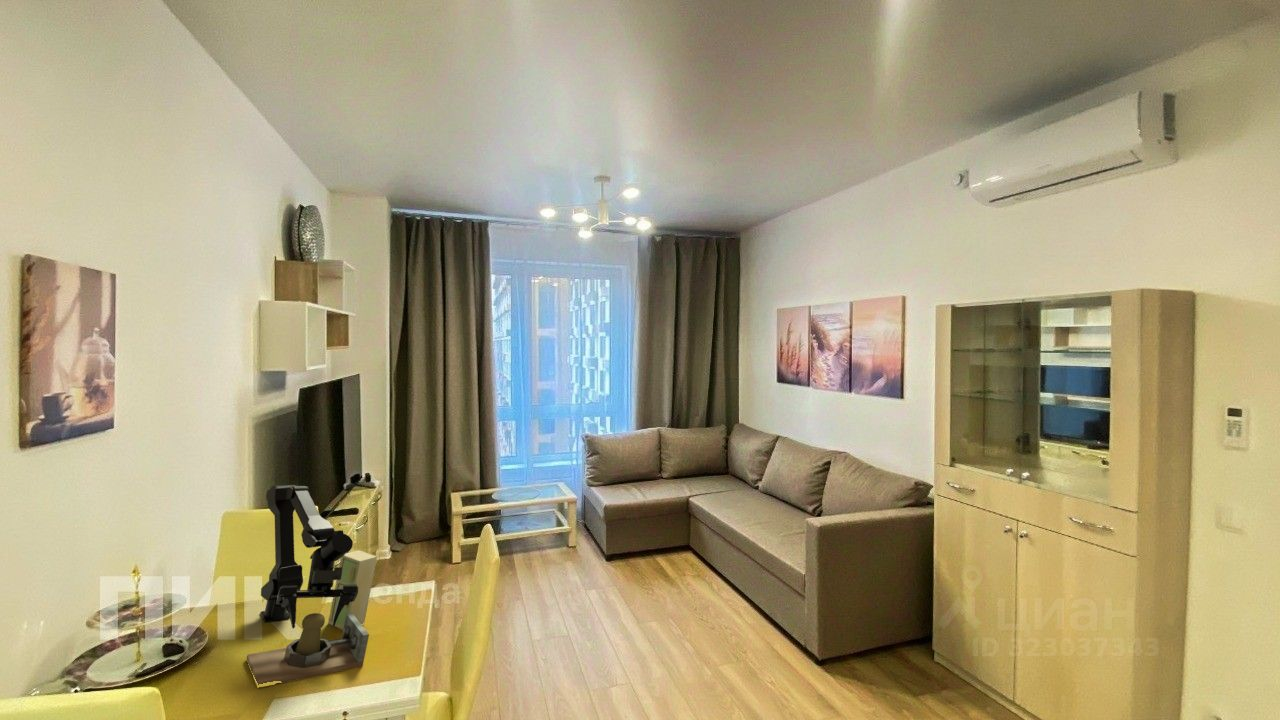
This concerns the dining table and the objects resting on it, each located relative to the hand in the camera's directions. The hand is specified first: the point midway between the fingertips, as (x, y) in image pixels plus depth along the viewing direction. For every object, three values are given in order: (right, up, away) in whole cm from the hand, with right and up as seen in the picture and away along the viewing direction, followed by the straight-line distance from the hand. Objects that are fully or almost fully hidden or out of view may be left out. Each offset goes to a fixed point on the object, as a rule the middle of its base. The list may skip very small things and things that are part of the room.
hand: (313, 626), depth 145 cm
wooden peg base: (-2, -10, +1) cm, 10 cm away
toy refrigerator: (-5, -11, +24) cm, 27 cm away
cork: (-2, -9, +1) cm, 9 cm away
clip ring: (0, -9, +3) cm, 9 cm away
